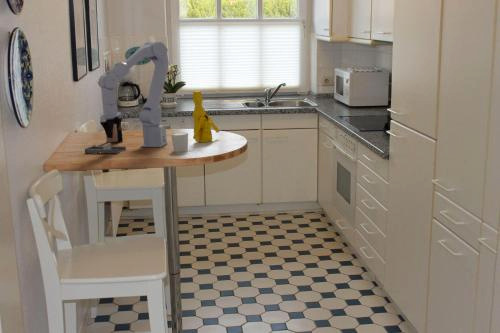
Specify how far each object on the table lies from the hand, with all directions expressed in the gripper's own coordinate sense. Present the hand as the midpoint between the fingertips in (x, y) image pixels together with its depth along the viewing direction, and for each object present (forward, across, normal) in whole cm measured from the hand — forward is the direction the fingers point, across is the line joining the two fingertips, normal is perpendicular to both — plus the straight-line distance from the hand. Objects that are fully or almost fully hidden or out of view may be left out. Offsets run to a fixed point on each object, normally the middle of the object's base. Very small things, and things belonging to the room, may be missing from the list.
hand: (112, 136), depth 261 cm
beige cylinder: (+6, -4, +28) cm, 29 cm away
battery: (+7, -22, -11) cm, 25 cm away
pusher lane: (+6, 0, -3) cm, 7 cm away
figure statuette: (+6, -24, +31) cm, 40 cm away
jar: (+2, 0, 0) cm, 2 cm away
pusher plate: (+6, 0, -3) cm, 7 cm away
